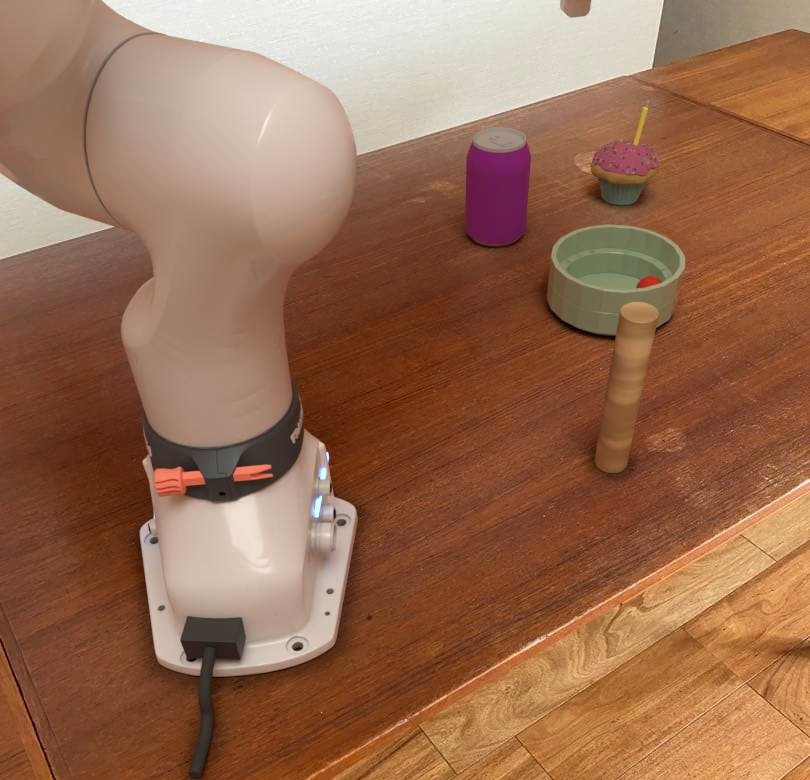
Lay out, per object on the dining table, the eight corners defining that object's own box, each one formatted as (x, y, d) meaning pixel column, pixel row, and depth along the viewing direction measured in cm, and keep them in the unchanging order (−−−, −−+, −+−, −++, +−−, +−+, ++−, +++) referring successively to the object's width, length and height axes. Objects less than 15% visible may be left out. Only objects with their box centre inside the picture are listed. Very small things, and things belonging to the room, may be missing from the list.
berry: (656, 293, 93) (630, 286, 95) (656, 312, 96) (631, 306, 97) (668, 273, 94) (642, 267, 95) (668, 293, 96) (643, 287, 98)
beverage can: (452, 233, 110) (453, 136, 101) (497, 214, 113) (502, 119, 104) (492, 256, 106) (496, 158, 97) (538, 236, 109) (546, 139, 100)
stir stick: (630, 472, 79) (663, 321, 67) (598, 474, 79) (625, 323, 67) (622, 450, 81) (653, 300, 69) (591, 453, 81) (616, 302, 69)
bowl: (691, 335, 93) (704, 285, 89) (562, 346, 93) (568, 297, 88) (652, 267, 103) (662, 219, 99) (535, 277, 102) (539, 229, 98)
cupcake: (629, 178, 119) (644, 85, 110) (665, 204, 114) (684, 109, 105) (575, 191, 117) (585, 97, 108) (608, 218, 111) (622, 122, 103)
